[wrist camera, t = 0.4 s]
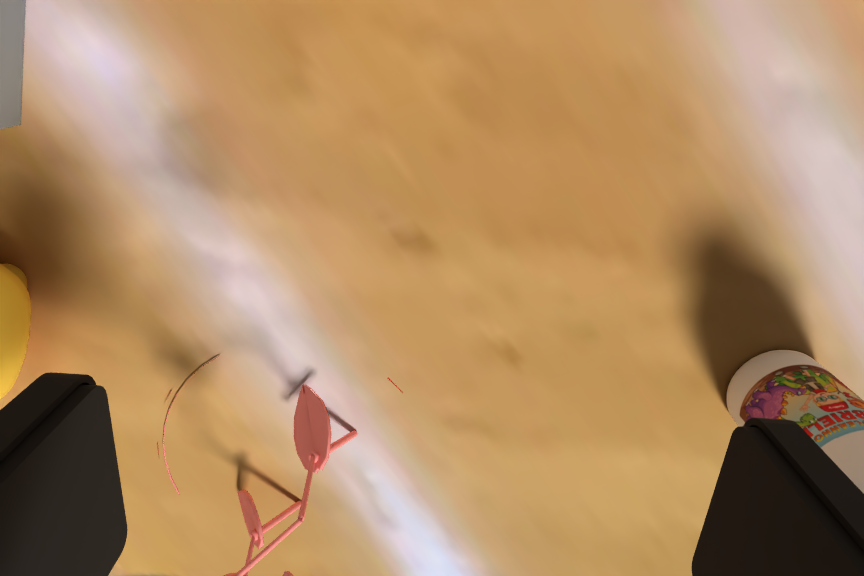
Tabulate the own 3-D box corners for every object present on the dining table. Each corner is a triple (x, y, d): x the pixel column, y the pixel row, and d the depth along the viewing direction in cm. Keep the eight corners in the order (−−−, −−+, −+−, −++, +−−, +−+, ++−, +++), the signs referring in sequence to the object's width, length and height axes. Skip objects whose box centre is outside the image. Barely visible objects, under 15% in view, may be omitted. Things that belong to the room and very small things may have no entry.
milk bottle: (830, 406, 50) (1066, 624, 31) (738, 441, 51) (911, 671, 33) (807, 330, 47) (1049, 520, 29) (710, 370, 48) (882, 575, 30)
